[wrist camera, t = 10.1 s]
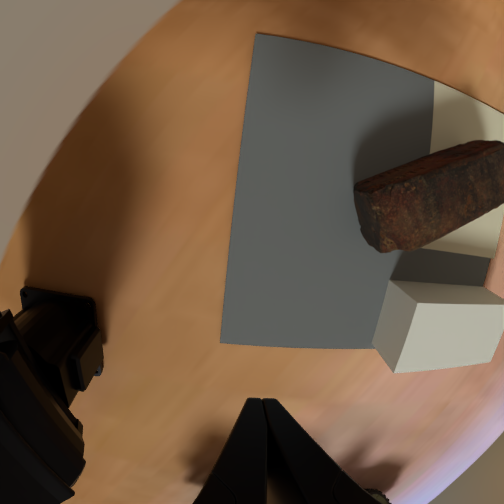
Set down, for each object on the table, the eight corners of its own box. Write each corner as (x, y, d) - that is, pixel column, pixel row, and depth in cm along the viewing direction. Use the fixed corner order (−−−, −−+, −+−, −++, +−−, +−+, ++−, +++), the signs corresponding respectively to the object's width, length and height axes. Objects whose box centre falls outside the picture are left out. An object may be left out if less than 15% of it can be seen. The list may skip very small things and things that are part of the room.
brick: (464, 138, 18) (507, 138, 14) (476, 189, 19) (519, 198, 15) (342, 185, 19) (373, 192, 14) (361, 243, 20) (394, 265, 15)
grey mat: (220, 341, 21) (219, 343, 21) (255, 34, 16) (255, 33, 16) (465, 342, 23) (466, 344, 23) (510, 119, 18) (512, 119, 18)
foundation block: (371, 342, 22) (393, 373, 18) (389, 279, 21) (417, 302, 17) (464, 339, 23) (490, 361, 19) (482, 286, 22) (512, 304, 18)
